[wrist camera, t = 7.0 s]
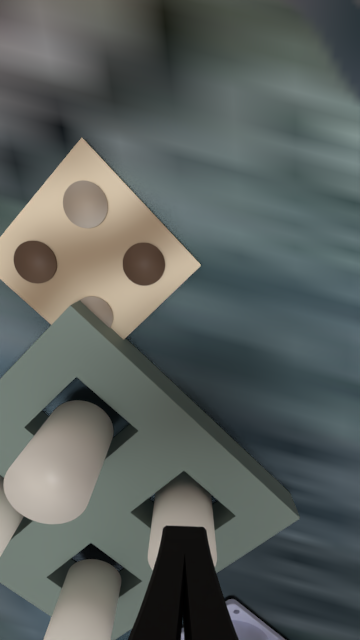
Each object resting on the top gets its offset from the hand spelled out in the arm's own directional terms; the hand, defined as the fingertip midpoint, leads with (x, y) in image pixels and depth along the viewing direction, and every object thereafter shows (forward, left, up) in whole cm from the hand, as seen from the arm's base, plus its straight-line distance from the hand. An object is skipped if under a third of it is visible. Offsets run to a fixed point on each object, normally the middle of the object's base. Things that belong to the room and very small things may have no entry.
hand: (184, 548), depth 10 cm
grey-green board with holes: (-1, +10, -10) cm, 14 cm away
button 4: (+3, +5, -8) cm, 10 cm away
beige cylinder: (-6, +6, -10) cm, 12 cm away
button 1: (-6, +15, -8) cm, 17 cm away
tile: (+10, -2, -10) cm, 14 cm away
